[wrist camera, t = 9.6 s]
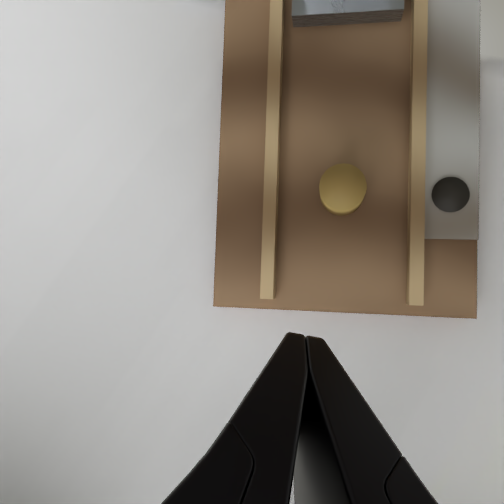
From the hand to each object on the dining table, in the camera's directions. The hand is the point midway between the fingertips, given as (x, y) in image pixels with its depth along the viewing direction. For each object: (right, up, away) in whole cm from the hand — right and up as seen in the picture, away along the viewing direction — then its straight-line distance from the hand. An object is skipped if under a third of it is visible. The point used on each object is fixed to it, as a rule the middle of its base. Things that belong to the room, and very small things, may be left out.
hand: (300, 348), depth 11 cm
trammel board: (+3, +10, +13) cm, 16 cm away
